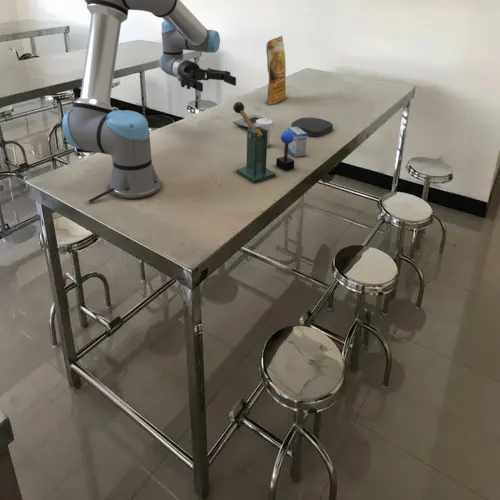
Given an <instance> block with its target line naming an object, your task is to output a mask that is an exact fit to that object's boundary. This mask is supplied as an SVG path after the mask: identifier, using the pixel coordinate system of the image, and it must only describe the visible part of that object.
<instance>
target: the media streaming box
mask: <svg viewBox="0 0 500 500" xmlns="http://www.w3.org/2000/svg"><path fill="white" fill-rule="evenodd" d="M290 127H299V128H300V129H302V130H303V131H304V132H306V133H307V134H308V136H310V137H321V136H324V135H326V134H328V133H330V132H331V131H333V128H334V124H333V123H332V122H331V121H328V120H326V119H324V118H319V117H300V118H297V119H295V120H294V121H292V123H291V126H290Z"/></svg>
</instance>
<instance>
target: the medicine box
mask: <svg viewBox="0 0 500 500" xmlns="http://www.w3.org/2000/svg"><path fill="white" fill-rule="evenodd" d="M287 131H290V132H292V133H293V136H294V138H293V141H292V142H291V143H289V144H288V153H290V155H292V156H293V157H294V158H297V157H299V158H300V157H306V155H307V146H308V145H307V144H308V136H309V135H308V134H307V133H306V132H304V131H303V130H302V129H300V128H299V127H291V126H289V127H287Z"/></svg>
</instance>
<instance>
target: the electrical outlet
mask: <svg viewBox="0 0 500 500" xmlns="http://www.w3.org/2000/svg"><path fill="white" fill-rule="evenodd" d="M247 116H248V118H249V119H250V121H251V122H252V124H253V125H254V127H255V128H256V129H257V125H256V120H257V119H262V118H264V117H263V116H260V115H256V114H251V115H247ZM266 119H268V118H267V117H266ZM232 123H233V124H234V125H236V126H240V127H242V128H245V129H249V128H250V127H249V126H248V124H247V123H246V121H245V120H244V118H243V117H241V118H240V119H238V120H235V121H232Z"/></svg>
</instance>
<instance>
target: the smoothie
mask: <svg viewBox="0 0 500 500" xmlns="http://www.w3.org/2000/svg"><path fill="white" fill-rule="evenodd" d="M267 112H268V111H267V108H264V117H263V118H262V119H257V120H256V125H257V126H261V127H263V128H265V129H267V130H268V137H267V148H268V147H269V144H270V143H269V142H270V139H271V138H270V137H271V131H272V127H273V124H274V121H273V119H270V118H267ZM266 118H267V119H266Z"/></svg>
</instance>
